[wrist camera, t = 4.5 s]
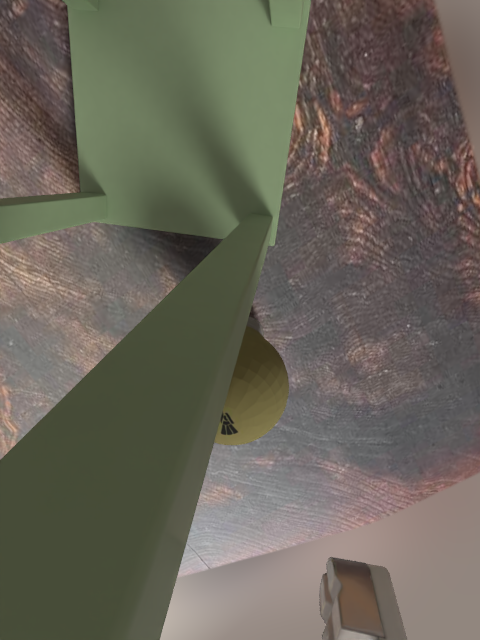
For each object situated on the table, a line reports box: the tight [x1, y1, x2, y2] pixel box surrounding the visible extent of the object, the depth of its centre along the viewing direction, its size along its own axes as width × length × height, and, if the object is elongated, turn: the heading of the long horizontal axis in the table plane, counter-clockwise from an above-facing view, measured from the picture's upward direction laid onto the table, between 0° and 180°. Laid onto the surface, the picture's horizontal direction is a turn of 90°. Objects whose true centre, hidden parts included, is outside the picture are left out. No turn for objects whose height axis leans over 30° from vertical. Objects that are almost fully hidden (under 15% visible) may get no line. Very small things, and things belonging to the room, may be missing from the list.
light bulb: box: [214, 316, 289, 445], centre depth 19 cm, size 6×6×10 cm
